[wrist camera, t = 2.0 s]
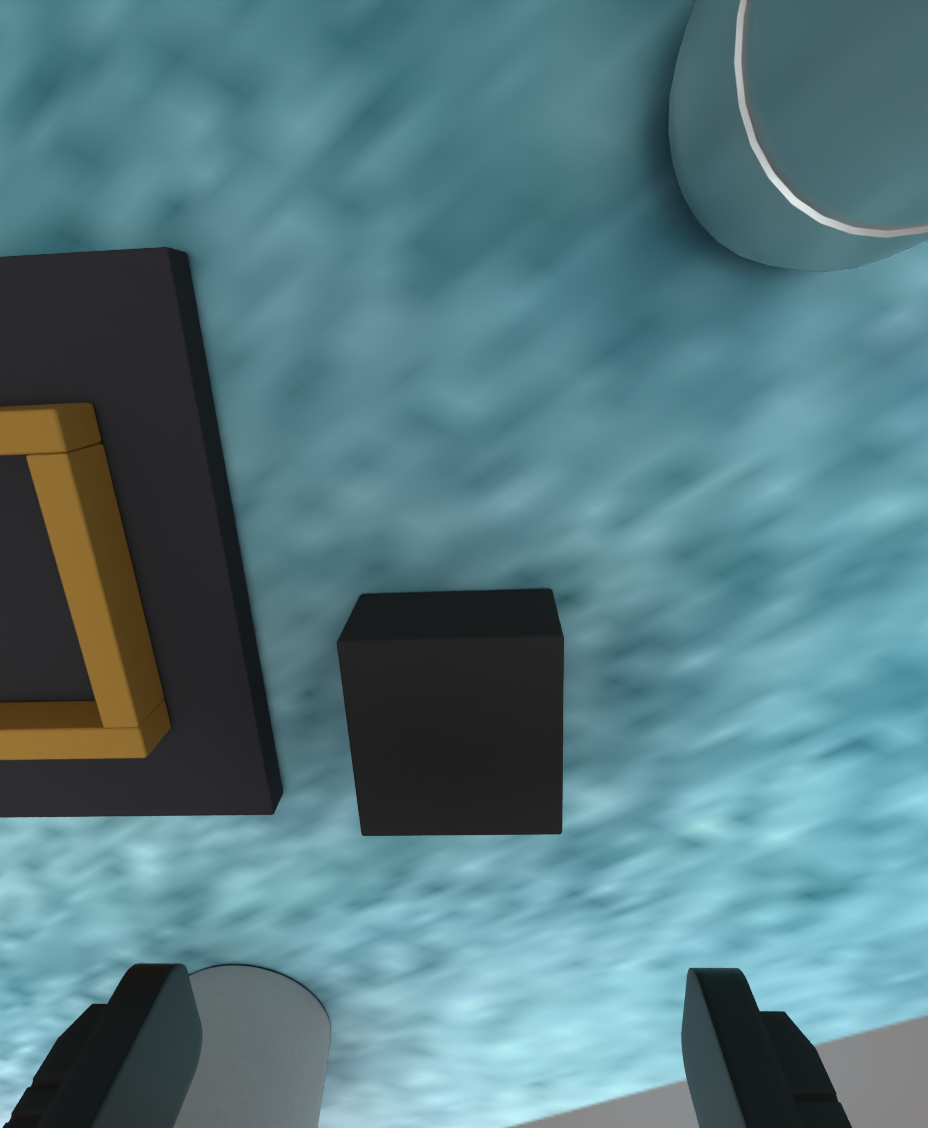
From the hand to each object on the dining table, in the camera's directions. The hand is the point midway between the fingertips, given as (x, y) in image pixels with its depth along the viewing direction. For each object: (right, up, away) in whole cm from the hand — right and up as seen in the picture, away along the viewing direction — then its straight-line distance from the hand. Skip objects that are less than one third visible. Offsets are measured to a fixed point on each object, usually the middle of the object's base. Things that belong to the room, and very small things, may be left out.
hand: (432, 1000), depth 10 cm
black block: (0, +3, +9) cm, 10 cm away
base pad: (-13, +7, +8) cm, 17 cm away
